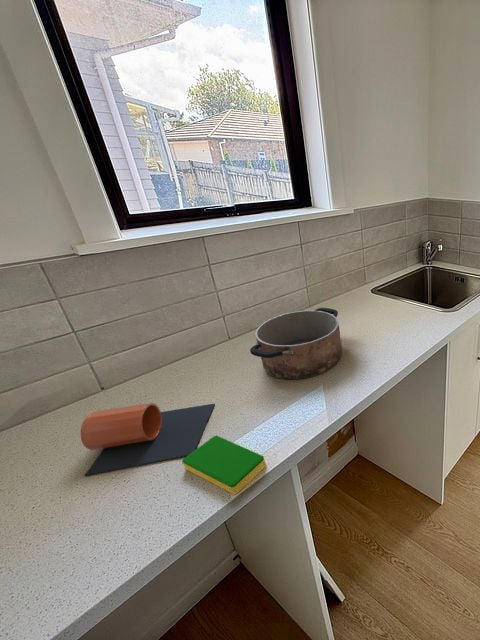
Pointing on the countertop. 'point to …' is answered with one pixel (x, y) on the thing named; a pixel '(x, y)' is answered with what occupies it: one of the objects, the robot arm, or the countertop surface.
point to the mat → (159, 442)
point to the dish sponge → (224, 464)
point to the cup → (121, 426)
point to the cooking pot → (299, 343)
